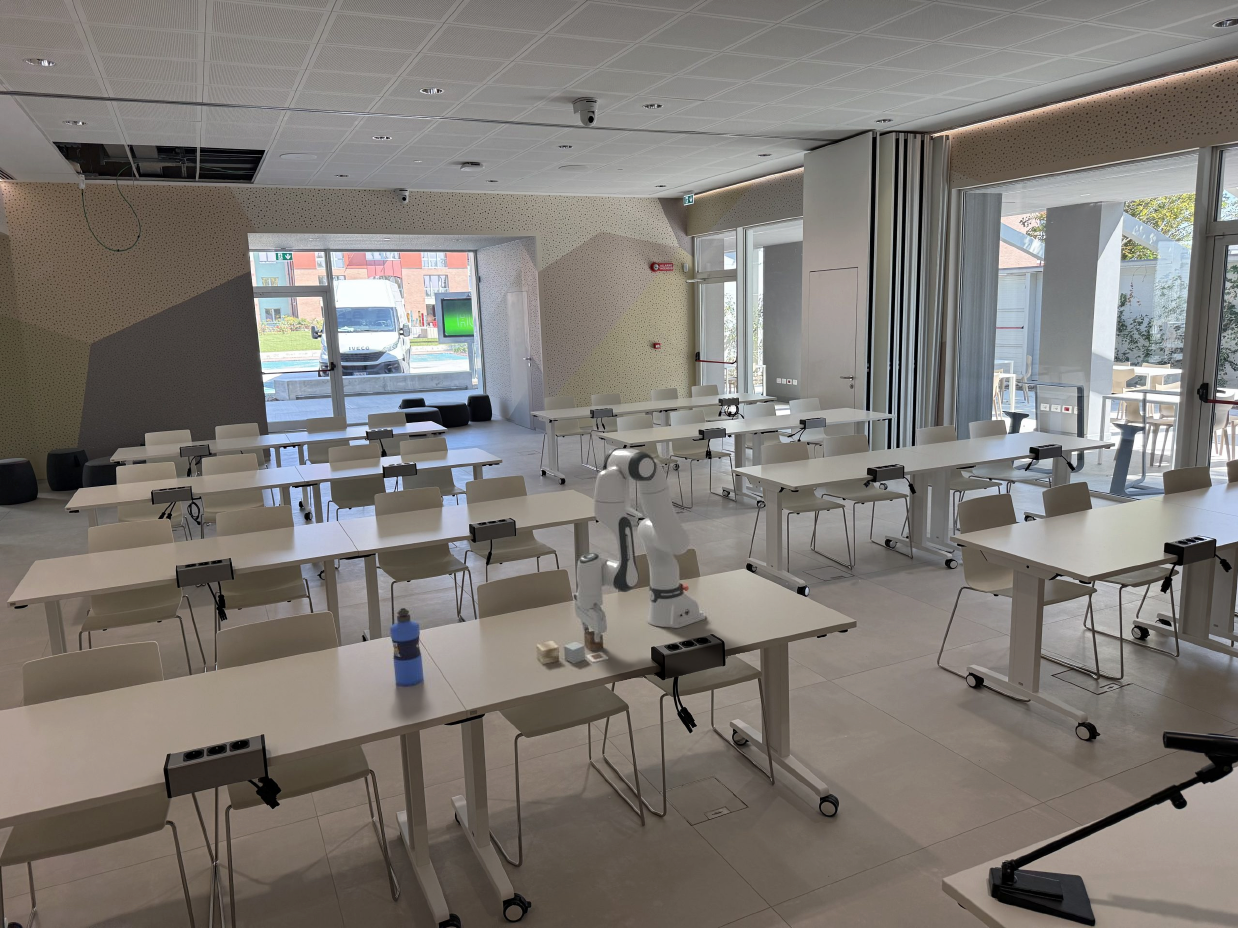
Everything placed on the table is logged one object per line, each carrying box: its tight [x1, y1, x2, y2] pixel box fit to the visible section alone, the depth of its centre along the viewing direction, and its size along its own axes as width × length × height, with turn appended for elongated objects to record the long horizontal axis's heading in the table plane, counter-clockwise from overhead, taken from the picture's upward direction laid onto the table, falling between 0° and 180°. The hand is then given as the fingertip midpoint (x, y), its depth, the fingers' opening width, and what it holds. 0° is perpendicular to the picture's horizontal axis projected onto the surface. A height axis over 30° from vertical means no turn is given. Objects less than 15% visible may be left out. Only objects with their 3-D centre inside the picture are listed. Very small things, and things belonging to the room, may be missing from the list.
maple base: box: [535, 640, 560, 665], centre depth 293 cm, size 6×6×5 cm
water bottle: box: [389, 607, 424, 687], centre depth 279 cm, size 9×9×25 cm
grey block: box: [563, 641, 586, 664], centre depth 292 cm, size 5×5×5 cm
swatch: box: [585, 651, 609, 664], centre depth 293 cm, size 6×6×1 cm
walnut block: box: [583, 630, 604, 652], centre depth 302 cm, size 5×5×5 cm
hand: (591, 636), depth 302 cm, fingers open, 8 cm apart
